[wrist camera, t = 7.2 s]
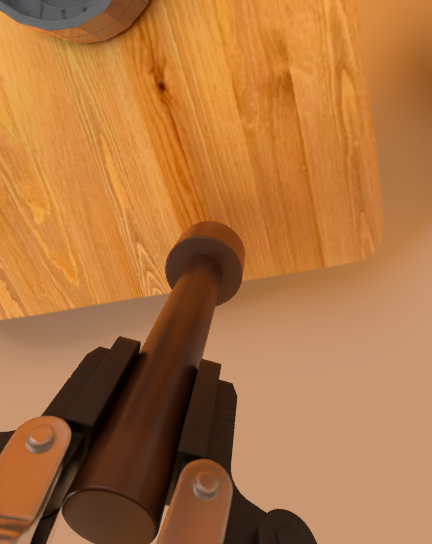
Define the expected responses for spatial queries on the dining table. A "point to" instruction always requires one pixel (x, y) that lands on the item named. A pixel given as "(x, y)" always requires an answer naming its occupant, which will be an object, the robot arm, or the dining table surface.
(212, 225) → the masher
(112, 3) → the bowl
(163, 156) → the dining table surface
